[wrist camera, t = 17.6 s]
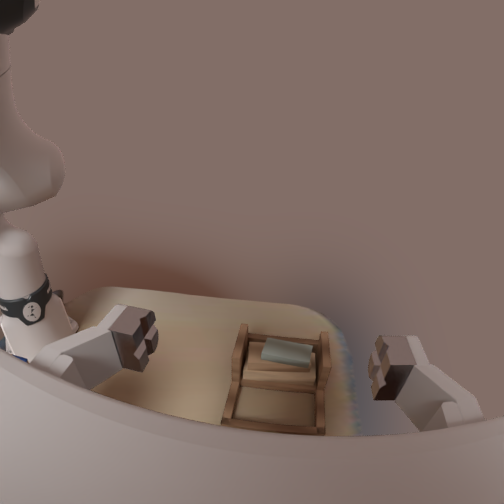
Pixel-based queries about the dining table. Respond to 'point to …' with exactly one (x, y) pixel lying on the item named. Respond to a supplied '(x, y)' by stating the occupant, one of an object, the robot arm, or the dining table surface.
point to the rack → (279, 375)
